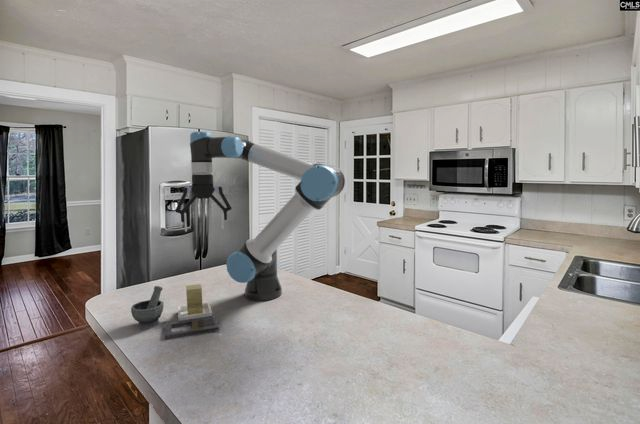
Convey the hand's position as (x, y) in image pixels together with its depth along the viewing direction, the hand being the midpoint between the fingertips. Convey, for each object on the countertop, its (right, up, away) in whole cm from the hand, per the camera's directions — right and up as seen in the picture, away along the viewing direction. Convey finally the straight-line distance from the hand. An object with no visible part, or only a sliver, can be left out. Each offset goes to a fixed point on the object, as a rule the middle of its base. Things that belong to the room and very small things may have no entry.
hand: (204, 229), depth 139 cm
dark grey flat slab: (+2, -31, -20) cm, 37 cm away
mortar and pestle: (-13, -31, -16) cm, 38 cm away
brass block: (0, -30, -10) cm, 31 cm away
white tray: (0, -30, -10) cm, 32 cm away
